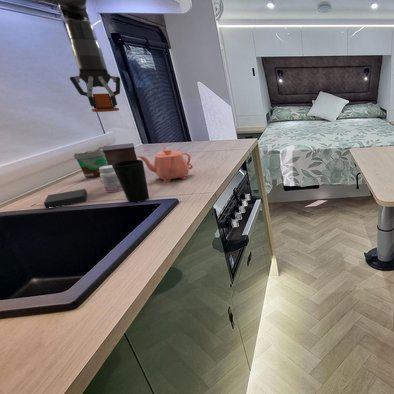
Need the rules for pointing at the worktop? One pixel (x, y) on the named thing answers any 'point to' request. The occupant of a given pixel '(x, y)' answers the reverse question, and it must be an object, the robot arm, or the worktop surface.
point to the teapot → (169, 164)
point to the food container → (91, 162)
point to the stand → (66, 198)
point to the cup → (132, 179)
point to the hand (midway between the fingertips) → (104, 107)
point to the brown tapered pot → (119, 153)
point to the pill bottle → (109, 179)
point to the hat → (103, 103)
